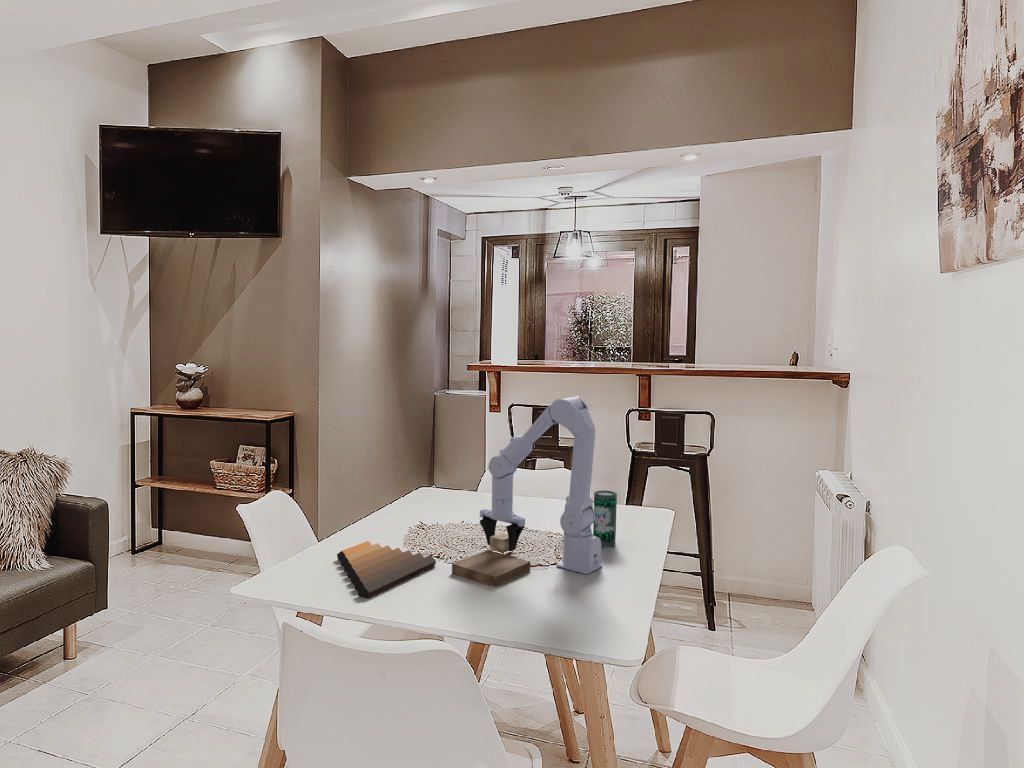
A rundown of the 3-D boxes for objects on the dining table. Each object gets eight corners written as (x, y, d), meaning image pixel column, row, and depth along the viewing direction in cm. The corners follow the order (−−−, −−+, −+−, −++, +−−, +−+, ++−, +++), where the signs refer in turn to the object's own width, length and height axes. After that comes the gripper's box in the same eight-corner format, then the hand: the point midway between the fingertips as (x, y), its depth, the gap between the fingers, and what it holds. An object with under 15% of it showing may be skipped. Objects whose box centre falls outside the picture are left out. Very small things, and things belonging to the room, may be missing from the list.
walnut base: (530, 571, 169) (530, 561, 169) (495, 587, 158) (495, 576, 158) (487, 559, 178) (488, 550, 178) (451, 573, 167) (452, 563, 167)
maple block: (512, 552, 184) (513, 536, 184) (502, 556, 181) (502, 540, 180) (500, 548, 187) (500, 533, 187) (489, 552, 184) (490, 536, 183)
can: (590, 545, 191) (591, 493, 190) (597, 539, 197) (599, 489, 196) (610, 548, 188) (612, 496, 187) (617, 543, 194) (619, 492, 193)
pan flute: (369, 601, 150) (436, 568, 171) (369, 586, 150) (436, 556, 171) (291, 579, 162) (363, 551, 184) (291, 566, 162) (363, 539, 184)
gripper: (532, 500, 182) (531, 549, 183) (491, 491, 190) (490, 538, 191) (516, 505, 176) (515, 555, 177) (475, 496, 185) (474, 544, 186)
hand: (501, 547), depth 184 cm, fingers open, 7 cm apart
